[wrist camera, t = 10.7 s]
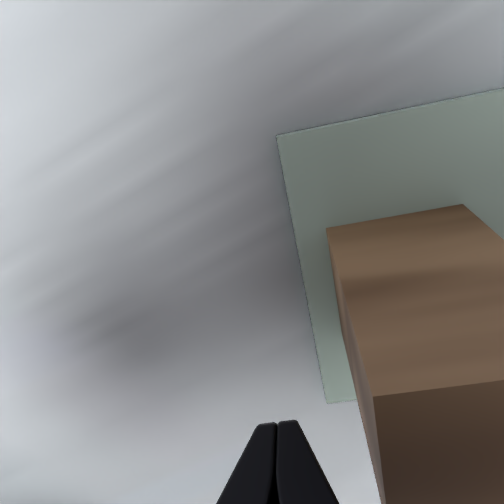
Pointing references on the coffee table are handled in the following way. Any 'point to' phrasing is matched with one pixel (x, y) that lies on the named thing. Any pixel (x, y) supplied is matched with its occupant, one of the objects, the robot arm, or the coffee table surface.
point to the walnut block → (426, 351)
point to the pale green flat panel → (386, 191)
